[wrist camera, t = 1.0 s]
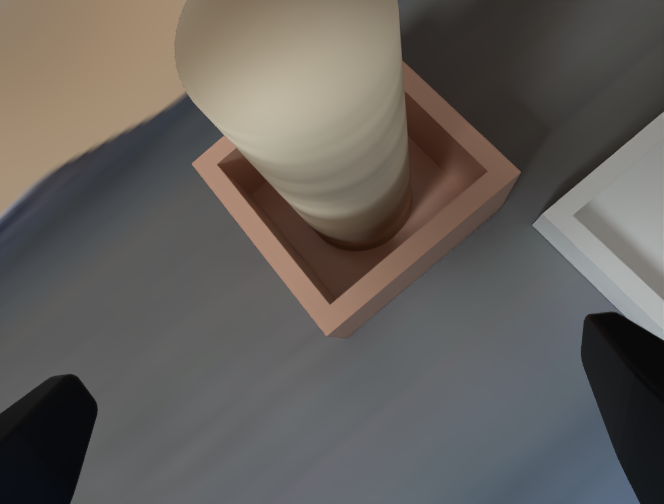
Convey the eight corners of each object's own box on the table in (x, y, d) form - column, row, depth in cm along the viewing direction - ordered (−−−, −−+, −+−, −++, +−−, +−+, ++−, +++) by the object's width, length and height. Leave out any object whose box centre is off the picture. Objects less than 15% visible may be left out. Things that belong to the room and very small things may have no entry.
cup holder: (500, 208, 21) (521, 171, 16) (346, 338, 21) (326, 336, 16) (370, 80, 23) (359, 19, 19) (234, 197, 23) (191, 163, 19)
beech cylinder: (435, 201, 21) (450, 19, 9) (350, 273, 21) (259, 182, 9) (364, 128, 22) (300, -111, 10) (285, 195, 22) (135, 32, 11)
